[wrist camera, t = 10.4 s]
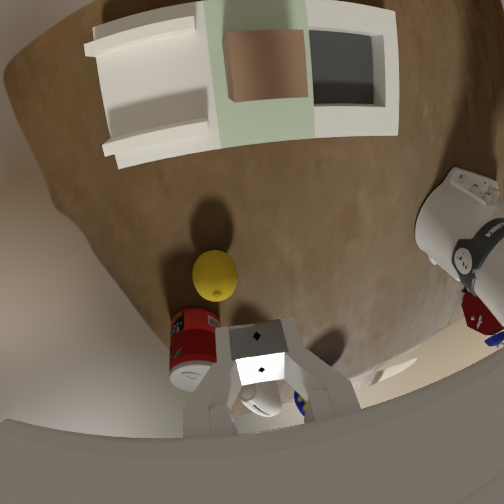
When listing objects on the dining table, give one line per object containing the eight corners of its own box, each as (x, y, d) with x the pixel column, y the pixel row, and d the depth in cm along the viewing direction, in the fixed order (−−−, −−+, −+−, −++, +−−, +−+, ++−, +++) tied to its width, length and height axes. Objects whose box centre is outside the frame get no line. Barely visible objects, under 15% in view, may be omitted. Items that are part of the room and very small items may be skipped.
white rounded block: (274, 362, 56) (288, 416, 46) (255, 371, 56) (267, 424, 46) (247, 338, 50) (260, 399, 40) (227, 348, 51) (236, 408, 41)
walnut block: (283, 37, 23) (303, 29, 18) (288, 92, 26) (308, 97, 21) (222, 41, 22) (227, 32, 17) (228, 97, 26) (234, 102, 21)
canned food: (172, 302, 43) (170, 362, 34) (224, 307, 45) (232, 365, 36) (169, 335, 47) (168, 391, 38) (216, 338, 49) (222, 393, 40)
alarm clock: (461, 307, 60) (502, 363, 44) (446, 304, 57) (491, 366, 41) (494, 261, 53) (542, 314, 37) (482, 254, 50) (536, 312, 34)
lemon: (188, 242, 38) (187, 282, 31) (230, 235, 38) (238, 273, 31) (197, 276, 41) (198, 317, 34) (236, 268, 41) (244, 309, 35)
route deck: (381, 14, 23) (410, 9, 19) (384, 130, 33) (412, 142, 28) (101, 31, 21) (81, 23, 16) (124, 161, 30) (110, 178, 25)
